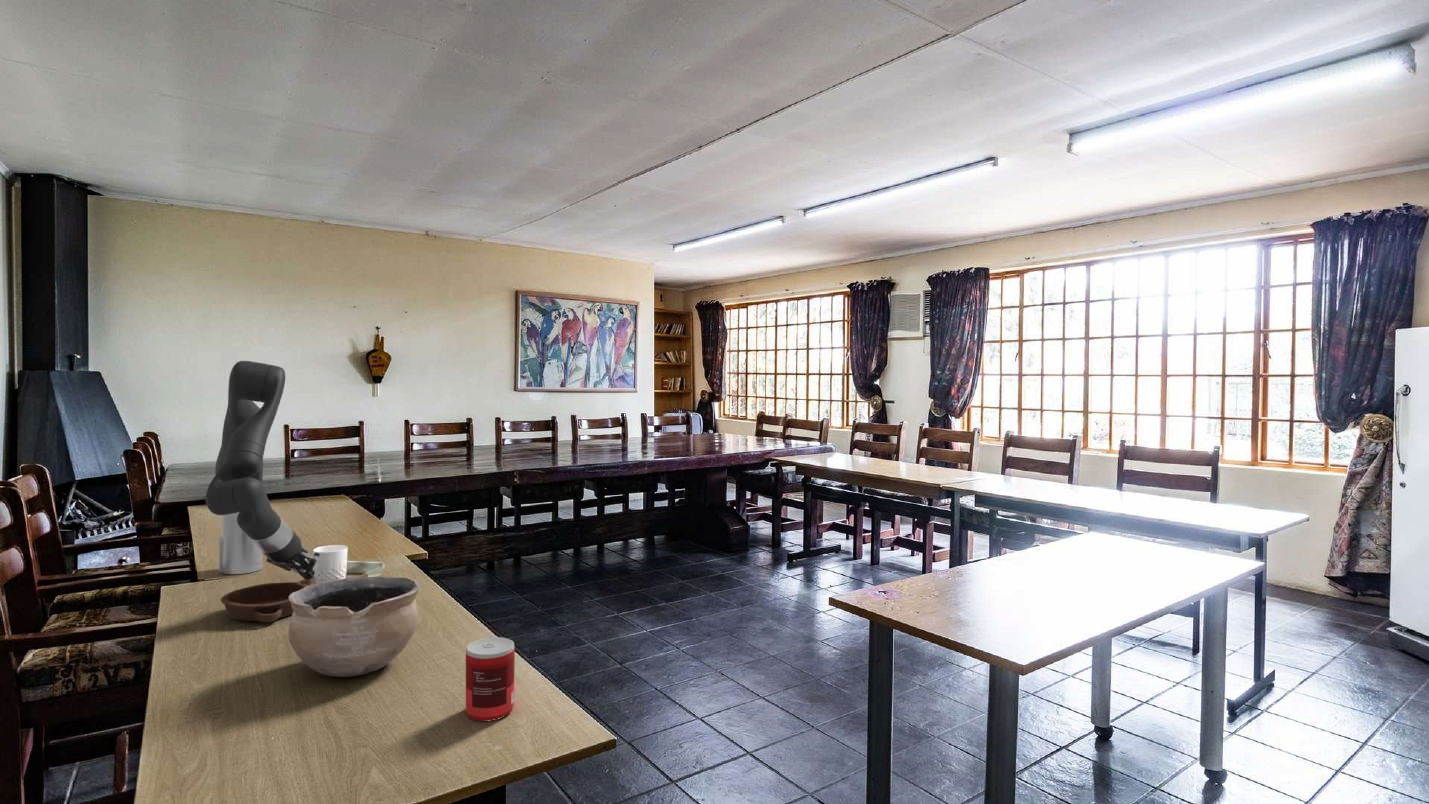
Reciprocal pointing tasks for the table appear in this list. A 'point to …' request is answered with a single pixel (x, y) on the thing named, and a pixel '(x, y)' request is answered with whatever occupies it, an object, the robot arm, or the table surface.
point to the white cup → (330, 563)
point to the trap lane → (356, 570)
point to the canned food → (490, 678)
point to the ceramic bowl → (353, 623)
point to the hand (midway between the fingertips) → (310, 576)
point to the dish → (261, 601)
